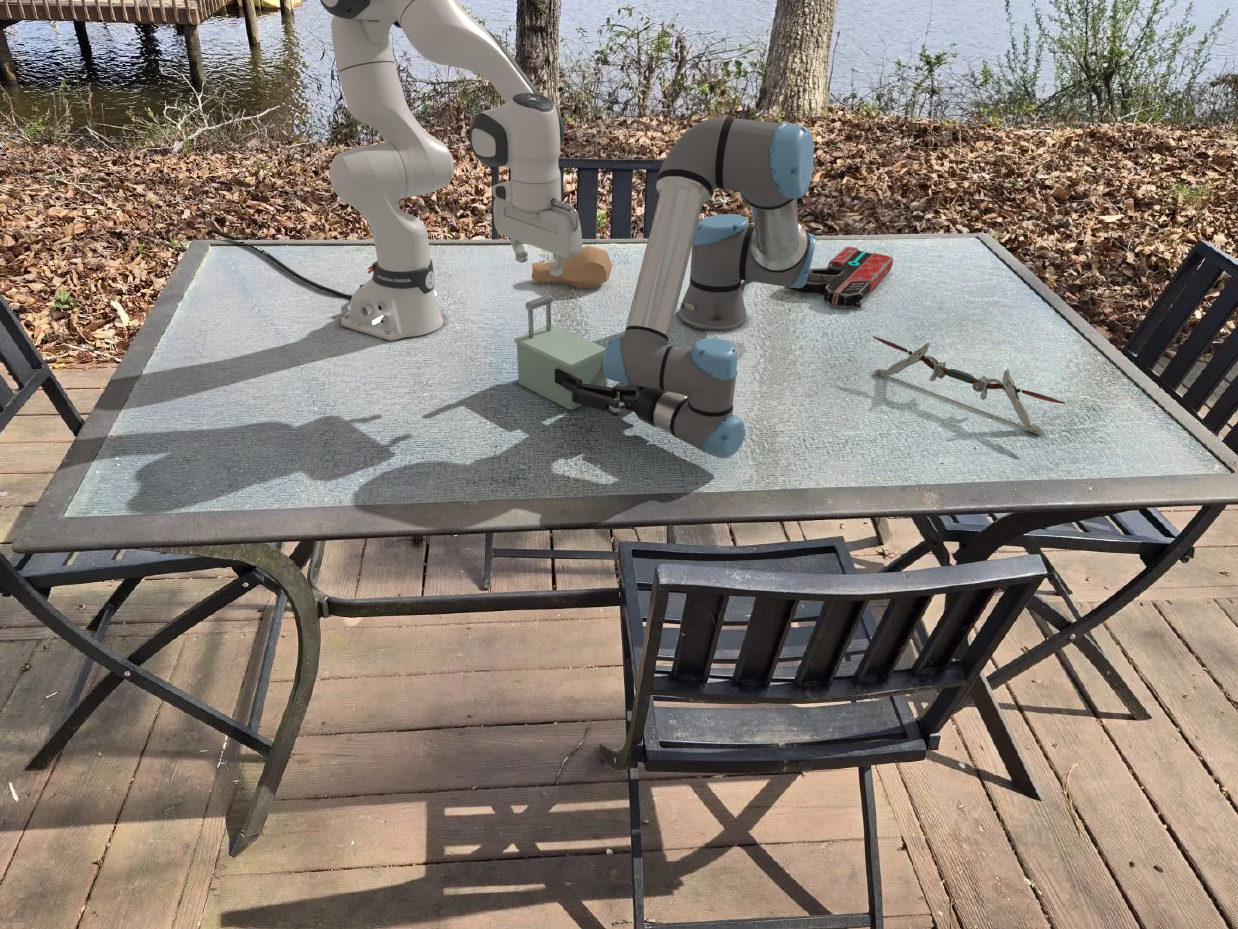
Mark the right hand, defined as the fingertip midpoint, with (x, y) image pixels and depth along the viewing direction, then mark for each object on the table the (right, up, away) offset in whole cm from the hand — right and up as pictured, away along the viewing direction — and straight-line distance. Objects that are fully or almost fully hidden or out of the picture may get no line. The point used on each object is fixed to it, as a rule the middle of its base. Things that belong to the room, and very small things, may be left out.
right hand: (575, 366), depth 167 cm
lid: (-3, +4, +1) cm, 5 cm away
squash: (-4, +26, +50) cm, 57 cm away
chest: (-3, -4, +6) cm, 7 cm away
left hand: (-7, +18, -4) cm, 19 cm away
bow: (+74, -7, +5) cm, 74 cm away
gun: (+64, +27, +55) cm, 88 cm away
